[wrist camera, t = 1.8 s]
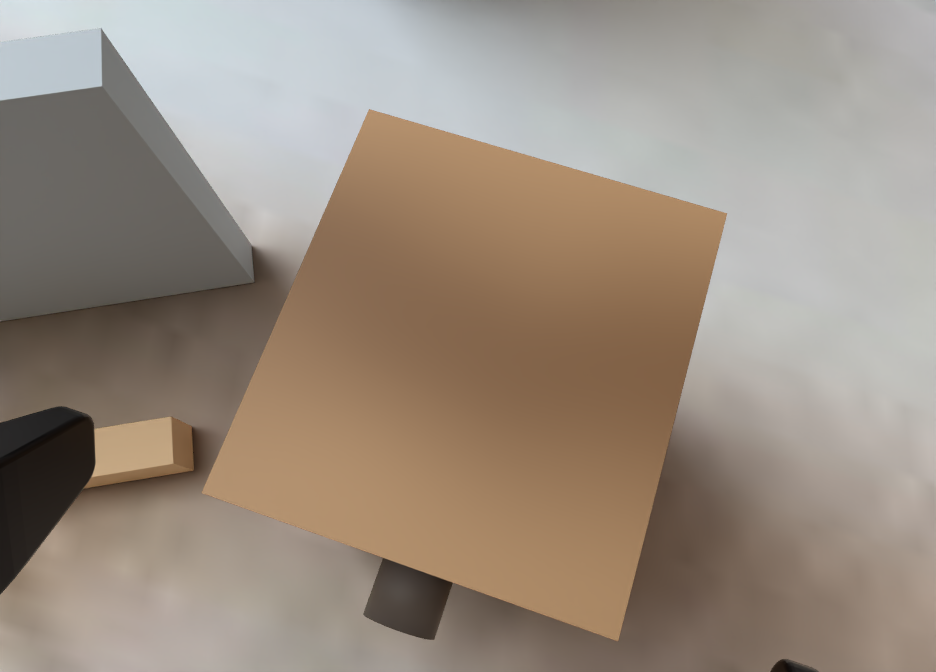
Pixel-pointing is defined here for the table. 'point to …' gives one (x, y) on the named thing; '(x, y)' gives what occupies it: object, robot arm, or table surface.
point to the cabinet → (476, 376)
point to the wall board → (103, 213)
